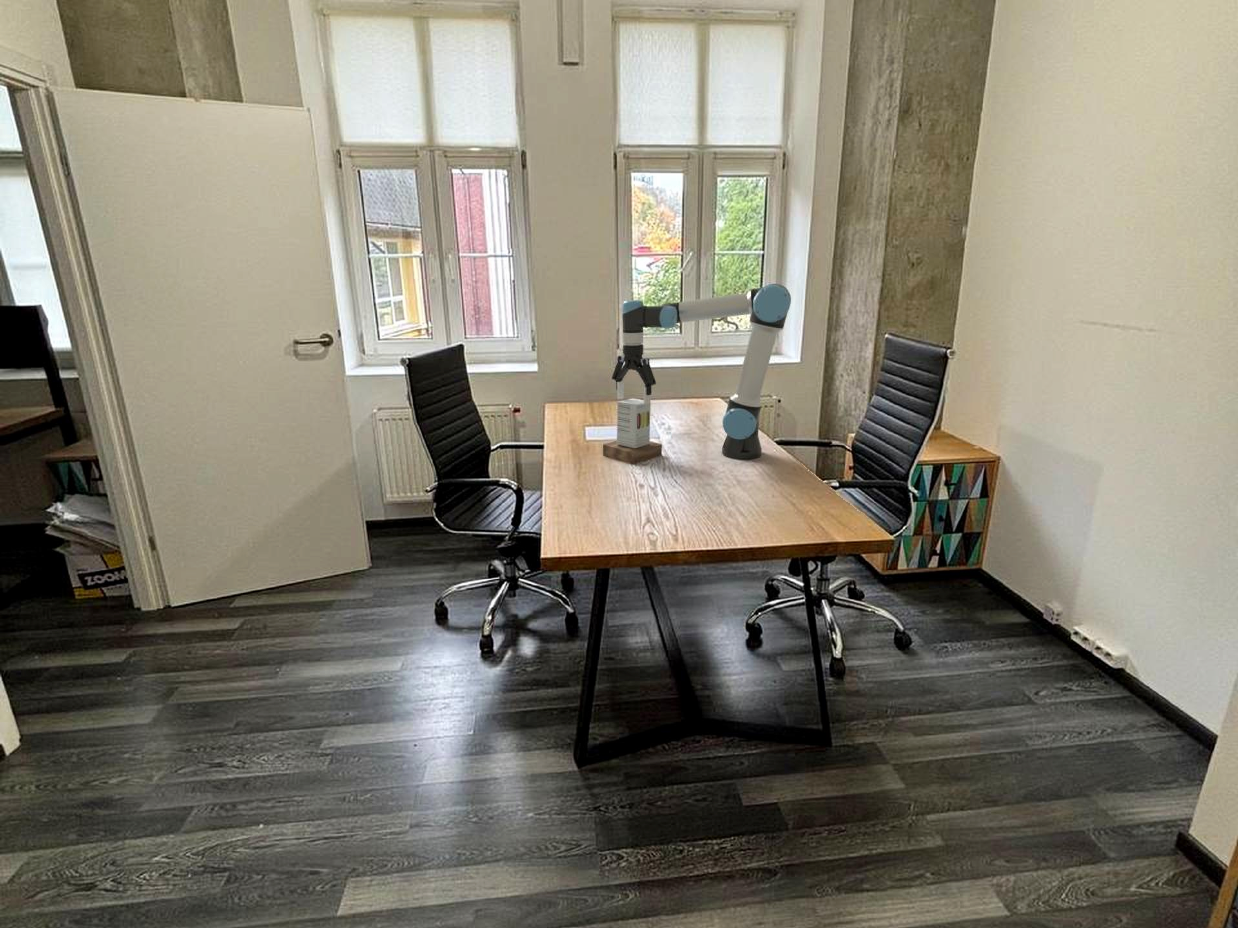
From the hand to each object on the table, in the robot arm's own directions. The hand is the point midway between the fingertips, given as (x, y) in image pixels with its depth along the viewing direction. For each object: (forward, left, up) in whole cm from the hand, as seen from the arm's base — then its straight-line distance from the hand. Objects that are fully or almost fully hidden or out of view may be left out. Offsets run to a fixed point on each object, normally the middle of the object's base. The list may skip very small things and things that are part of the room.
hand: (633, 401), depth 241 cm
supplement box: (0, 0, -17) cm, 17 cm away
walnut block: (0, 0, -22) cm, 22 cm away
